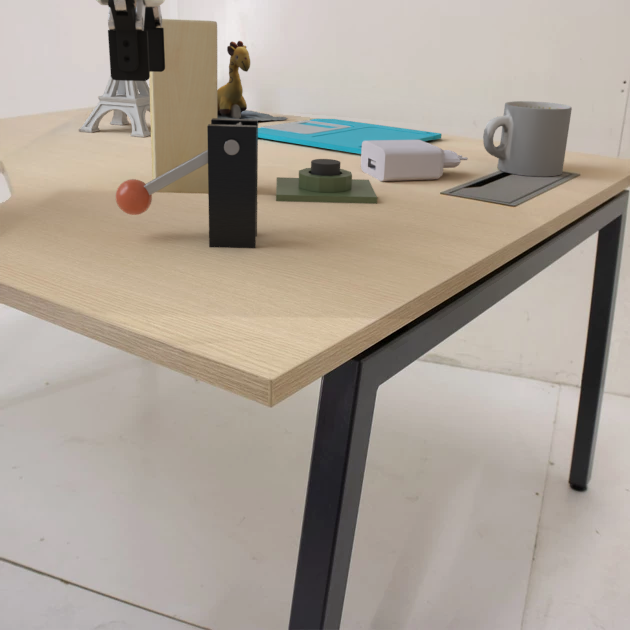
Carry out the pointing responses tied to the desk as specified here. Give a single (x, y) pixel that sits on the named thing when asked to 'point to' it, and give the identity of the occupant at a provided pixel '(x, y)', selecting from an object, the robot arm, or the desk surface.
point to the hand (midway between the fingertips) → (140, 75)
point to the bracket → (232, 182)
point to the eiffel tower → (122, 106)
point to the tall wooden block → (184, 101)
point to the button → (325, 167)
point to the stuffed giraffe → (237, 89)
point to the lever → (154, 185)
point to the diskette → (339, 133)
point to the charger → (406, 160)
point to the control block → (325, 188)
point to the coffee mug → (530, 138)
